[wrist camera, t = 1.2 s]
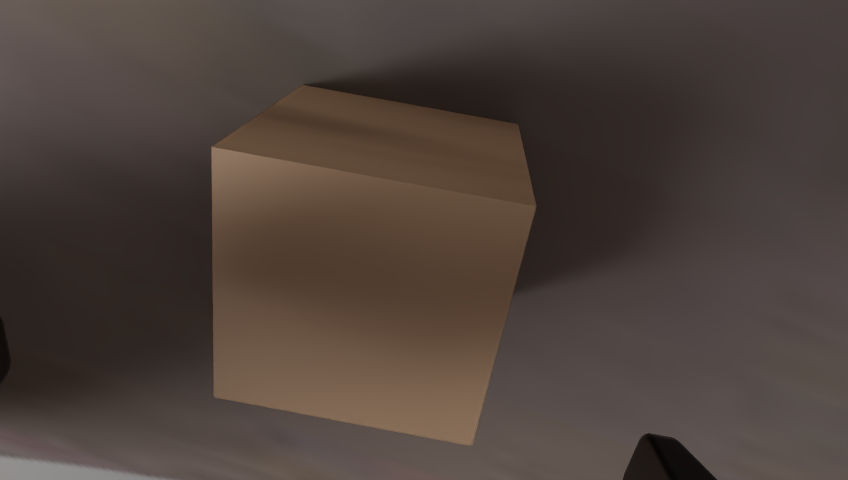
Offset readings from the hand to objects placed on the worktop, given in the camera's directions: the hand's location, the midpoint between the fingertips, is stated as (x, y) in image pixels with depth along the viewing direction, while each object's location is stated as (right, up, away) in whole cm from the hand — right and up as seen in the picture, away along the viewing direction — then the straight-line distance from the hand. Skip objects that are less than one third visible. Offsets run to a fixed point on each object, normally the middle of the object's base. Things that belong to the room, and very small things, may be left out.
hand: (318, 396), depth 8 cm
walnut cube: (+1, +3, +6) cm, 7 cm away
